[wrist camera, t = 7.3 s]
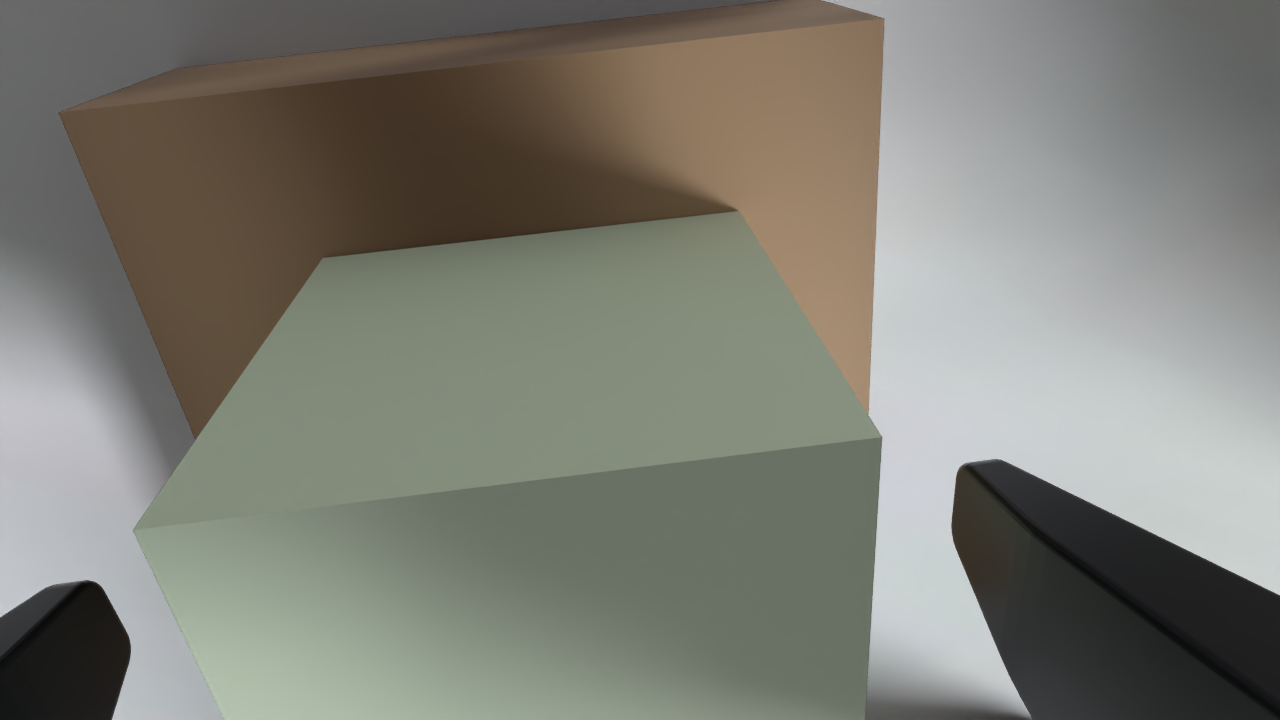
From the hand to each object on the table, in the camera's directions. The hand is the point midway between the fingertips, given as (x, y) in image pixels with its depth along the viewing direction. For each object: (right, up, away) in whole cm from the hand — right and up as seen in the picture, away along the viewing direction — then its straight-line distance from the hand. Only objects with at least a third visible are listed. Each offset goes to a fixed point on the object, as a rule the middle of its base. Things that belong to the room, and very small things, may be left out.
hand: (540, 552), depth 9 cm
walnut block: (-1, +3, +6) cm, 6 cm away
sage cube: (0, +1, +2) cm, 3 cm away
